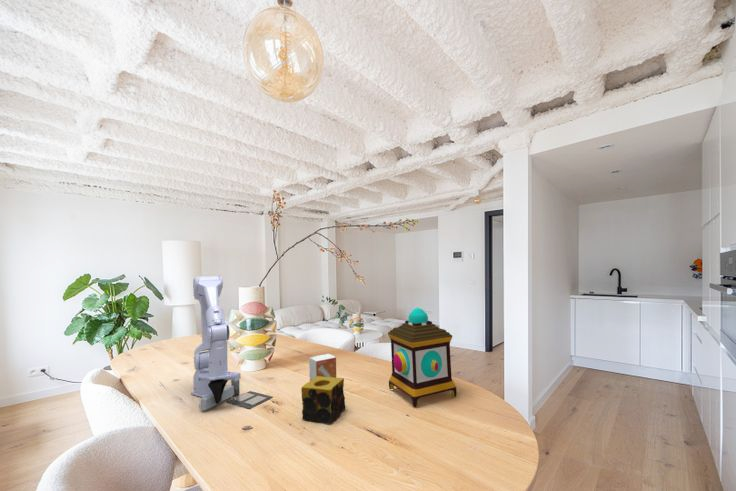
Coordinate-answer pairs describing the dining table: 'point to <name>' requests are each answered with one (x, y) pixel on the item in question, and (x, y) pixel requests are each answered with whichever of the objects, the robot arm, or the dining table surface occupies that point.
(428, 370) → the decorative lantern
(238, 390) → the post
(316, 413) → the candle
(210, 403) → the gray rectangular box
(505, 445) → the dining table surface
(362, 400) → the dining table surface
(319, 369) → the small box
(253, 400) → the label panel
